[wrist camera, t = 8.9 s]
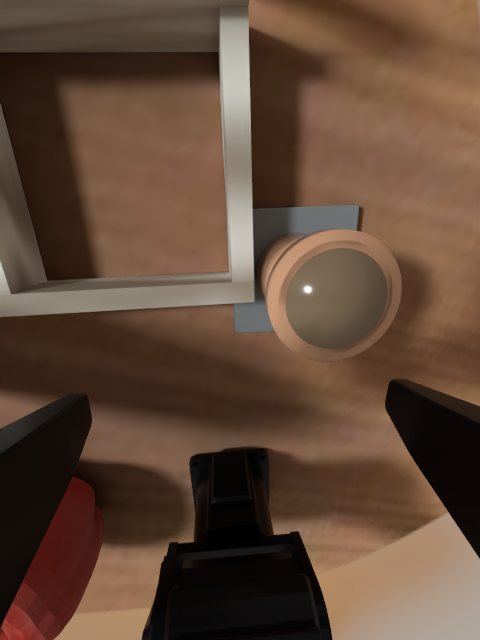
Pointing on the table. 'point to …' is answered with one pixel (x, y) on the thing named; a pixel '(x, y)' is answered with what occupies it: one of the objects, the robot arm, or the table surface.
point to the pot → (329, 291)
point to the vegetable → (58, 569)
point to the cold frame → (233, 49)
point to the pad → (274, 225)
